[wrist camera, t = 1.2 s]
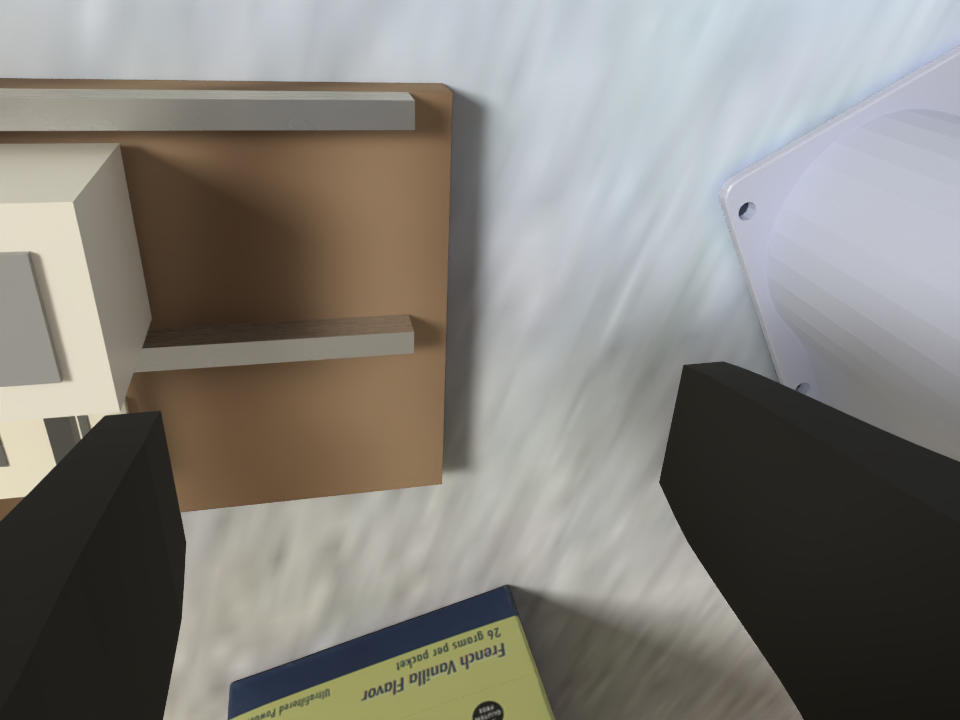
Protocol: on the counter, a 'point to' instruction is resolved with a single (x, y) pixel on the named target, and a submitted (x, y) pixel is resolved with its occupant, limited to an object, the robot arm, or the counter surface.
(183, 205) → the gauge bed
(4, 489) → the gauge scale
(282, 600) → the counter surface
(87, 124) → the anvil and rails
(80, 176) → the gauge carriage
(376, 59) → the counter surface
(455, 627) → the protein box
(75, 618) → the robot arm
